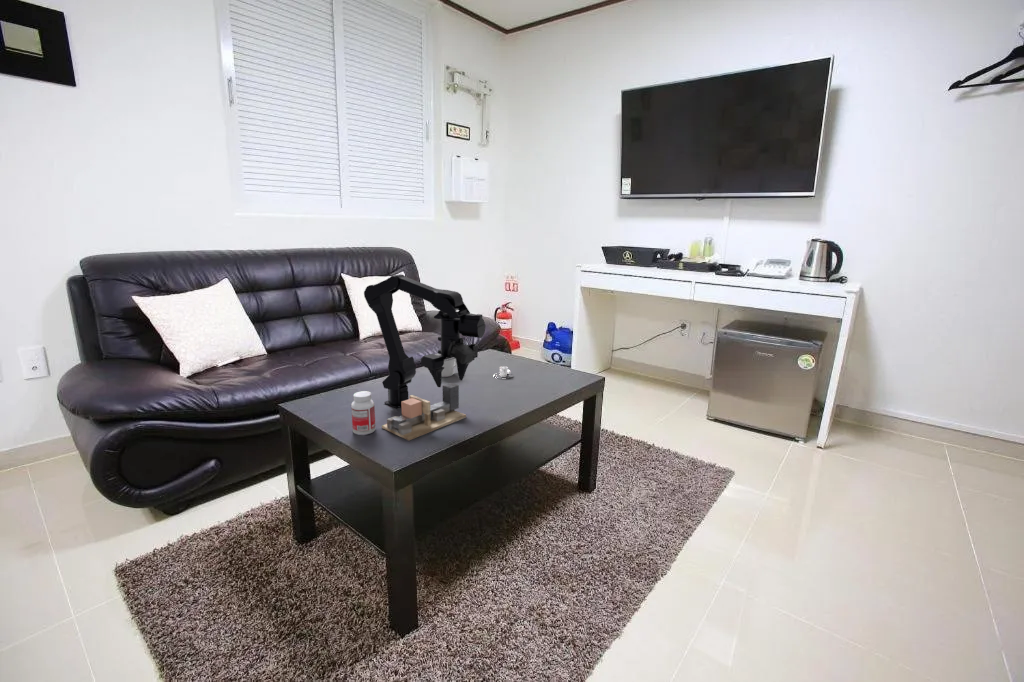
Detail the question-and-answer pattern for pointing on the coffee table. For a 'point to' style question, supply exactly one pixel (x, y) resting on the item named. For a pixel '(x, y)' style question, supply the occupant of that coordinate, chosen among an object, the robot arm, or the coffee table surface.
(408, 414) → the block
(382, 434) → the coffee table surface
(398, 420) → the grey metal bar
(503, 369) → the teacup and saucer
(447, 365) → the cup
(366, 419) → the pill bottle
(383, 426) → the rail
